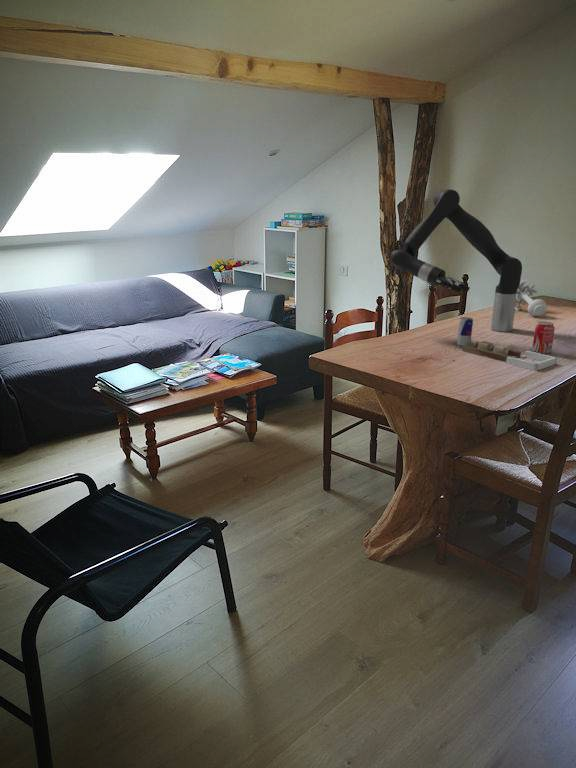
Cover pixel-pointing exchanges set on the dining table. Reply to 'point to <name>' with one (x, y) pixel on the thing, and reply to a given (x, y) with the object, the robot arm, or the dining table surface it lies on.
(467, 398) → the dining table surface
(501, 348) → the chip
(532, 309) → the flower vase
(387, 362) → the dining table surface
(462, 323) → the energy drink
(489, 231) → the robot arm
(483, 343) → the tan cube
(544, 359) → the tray
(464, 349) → the slot rails
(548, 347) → the soda can
